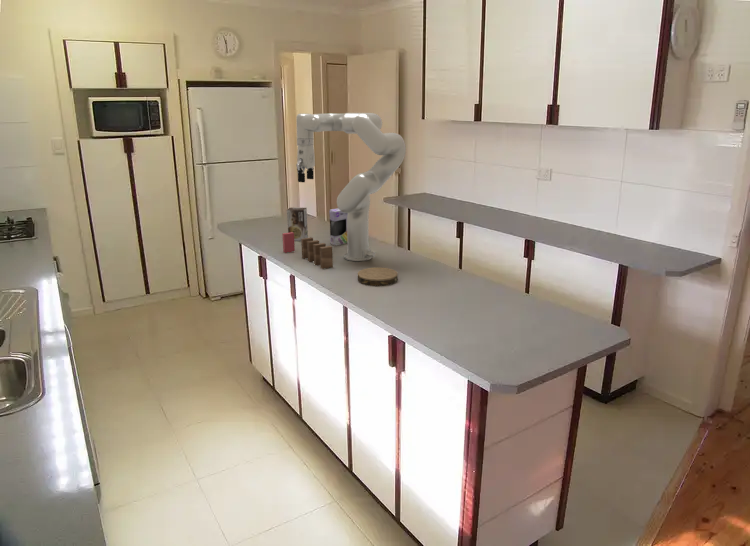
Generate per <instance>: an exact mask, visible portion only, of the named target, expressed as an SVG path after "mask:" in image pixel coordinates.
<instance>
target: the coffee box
mask: <svg viewBox="0 0 750 546" xmlns="http://www.w3.org/2000/svg"><path fill="white" fill-rule="evenodd" d="M307 211H308V210H307V207H289V208H288V209H286V216H287V217H286V219H287V233H290V232H293V233H294V242H298V241H299V242H300V241H301V239H303V238H309V233H308V232H309V231H308V215H307V214H308V213H307Z"/></svg>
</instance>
